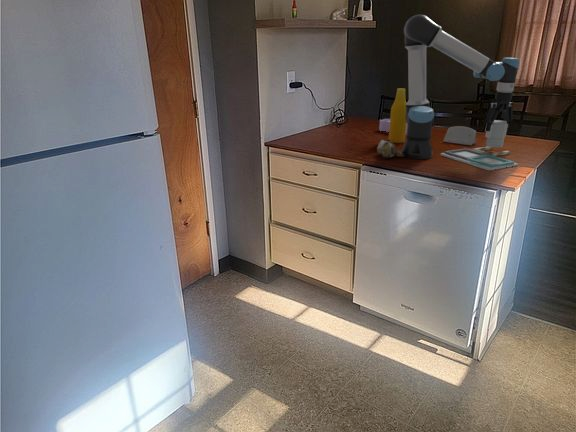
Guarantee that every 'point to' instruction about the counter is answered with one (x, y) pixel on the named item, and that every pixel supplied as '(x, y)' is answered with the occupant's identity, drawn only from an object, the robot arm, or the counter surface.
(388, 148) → the ceramic sculpture
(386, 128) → the clip
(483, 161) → the pocket plate
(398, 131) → the beer bottle
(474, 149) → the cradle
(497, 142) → the supplement box
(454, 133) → the gray curved slotted casing
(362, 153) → the counter surface
